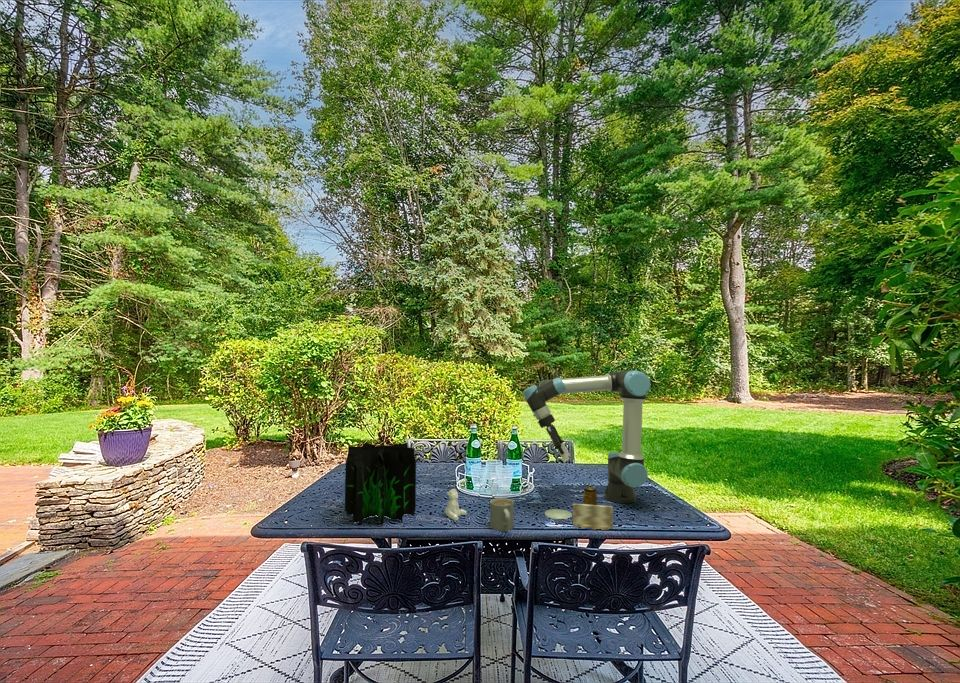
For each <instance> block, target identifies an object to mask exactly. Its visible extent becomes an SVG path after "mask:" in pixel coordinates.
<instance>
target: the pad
mask: <svg viewBox="0 0 960 683" xmlns="http://www.w3.org/2000/svg"><path fill="white" fill-rule="evenodd" d="M544 516H545V517H547V518H549V519H552V520H557V519H564V520H568V518H569V519H571V518H573V513H572V512H571V511H568V510H566V509H565V510H564V509H558V508H554V509H553V508H552V509H547V510H545V511H544ZM570 517H571V518H570Z"/></svg>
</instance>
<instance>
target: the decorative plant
mask: <svg viewBox="0 0 960 683" xmlns="http://www.w3.org/2000/svg"><path fill="white" fill-rule="evenodd" d="M408 445H409V443H408V442H404V443H401V442H400V443H395V444H394V443H393V444H391V445H384V444H382V441H381V444H379V445H378V446H376V445H375V444H373V443H370V442H369V443H368V442H362V446H352V445H351V446H348V447H347V450H348V451H347V456H346V459H345V475H344V476H345V477H344V478H345V480H344V482H345V483H344V484H345V485H344V492H345V493H344V510H345V512H346V514H347V513H348V514H353V516H352V524H353V523H354V522H358V521H359V523H360V522H362V520H363V519H364V518H367V517H369V516H375V515H377V516H378V518H377V520H379V521H381V523H380V522H379V523H378V525H380V524H383V523H384V524H385V518H384V516H387V517H389V518H391V519H399V520H401V521H402V522H403V517H404V516H403V515H404V514H411V515H413V516H414V517H415V512H416V505H417V504H416V501H417V500H416V494H417V493H416V491H417V488H416V486H417V459H416V456H415V448H414V447H408ZM348 514H347V515H348ZM411 515H410V516H411ZM363 521H364V520H363ZM362 523H363V522H362ZM384 524H383V525H384Z"/></svg>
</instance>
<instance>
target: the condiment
mask: <svg viewBox="0 0 960 683" xmlns="http://www.w3.org/2000/svg"><path fill="white" fill-rule="evenodd" d="M582 497H583V503H582V504H588V505H598V495H597V489H596V487H593V486H586V487H584V488H583V494H582Z"/></svg>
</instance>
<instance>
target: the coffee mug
mask: <svg viewBox="0 0 960 683" xmlns="http://www.w3.org/2000/svg"><path fill="white" fill-rule="evenodd" d="M514 506H515V501H514V500H513V499H510V498H504V497H503V498H502V497H498V498H497V497H496V498H493V499H491V500H490V501H489V508H490V509H489V526H490V528H491V529H493V530H495V531H502V532H503V531H505V532H506V531H509V530H512V529H514V527H515V523H514V522H515V507H514Z"/></svg>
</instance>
